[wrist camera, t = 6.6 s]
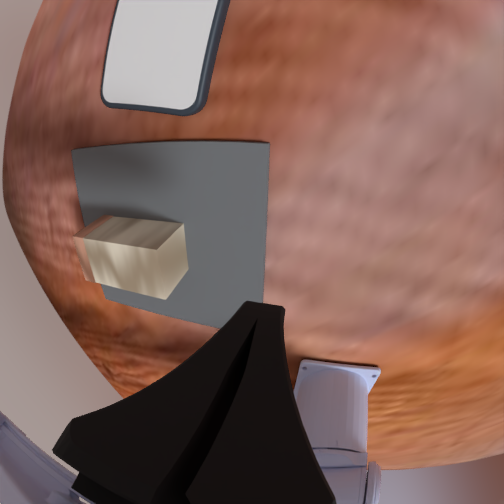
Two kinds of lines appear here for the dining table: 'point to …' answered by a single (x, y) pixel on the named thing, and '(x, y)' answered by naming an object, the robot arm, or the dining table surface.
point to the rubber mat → (188, 216)
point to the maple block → (133, 254)
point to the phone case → (162, 55)
